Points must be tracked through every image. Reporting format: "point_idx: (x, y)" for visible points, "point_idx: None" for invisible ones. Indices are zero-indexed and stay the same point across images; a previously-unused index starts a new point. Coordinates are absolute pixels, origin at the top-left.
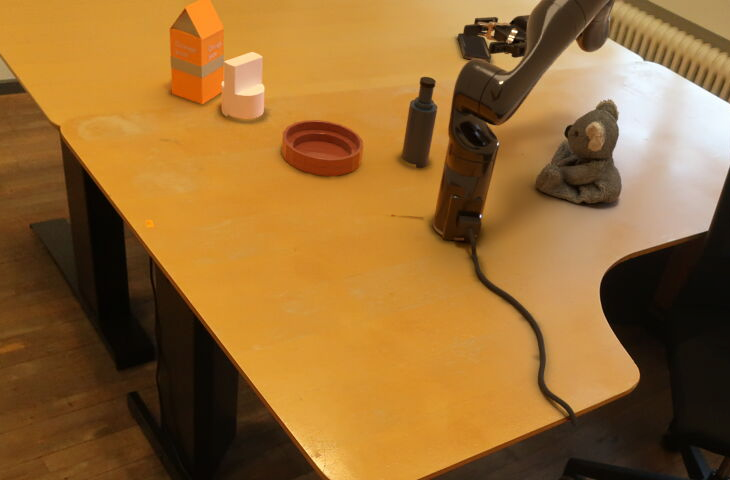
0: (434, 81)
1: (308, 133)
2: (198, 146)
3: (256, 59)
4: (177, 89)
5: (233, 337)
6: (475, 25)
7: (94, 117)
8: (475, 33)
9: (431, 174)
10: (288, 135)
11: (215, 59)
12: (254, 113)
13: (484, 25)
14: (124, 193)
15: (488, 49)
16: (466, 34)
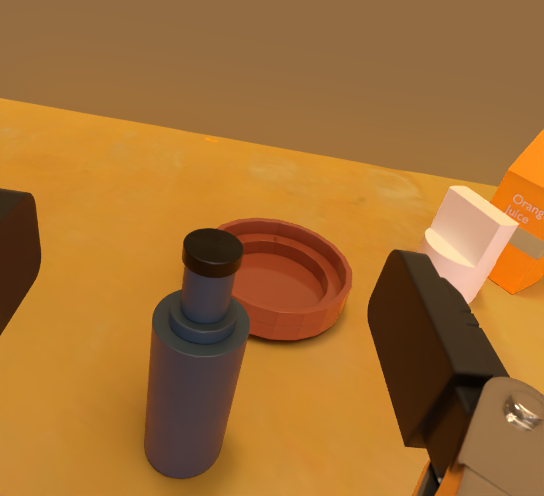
0: (196, 254)
1: (328, 281)
2: (343, 211)
3: (487, 216)
4: None
5: (22, 105)
6: (432, 316)
7: (416, 186)
8: (401, 391)
9: (101, 438)
10: (321, 251)
11: (521, 229)
12: None
13: (467, 431)
14: (267, 149)
15: (38, 241)
16: (375, 308)
